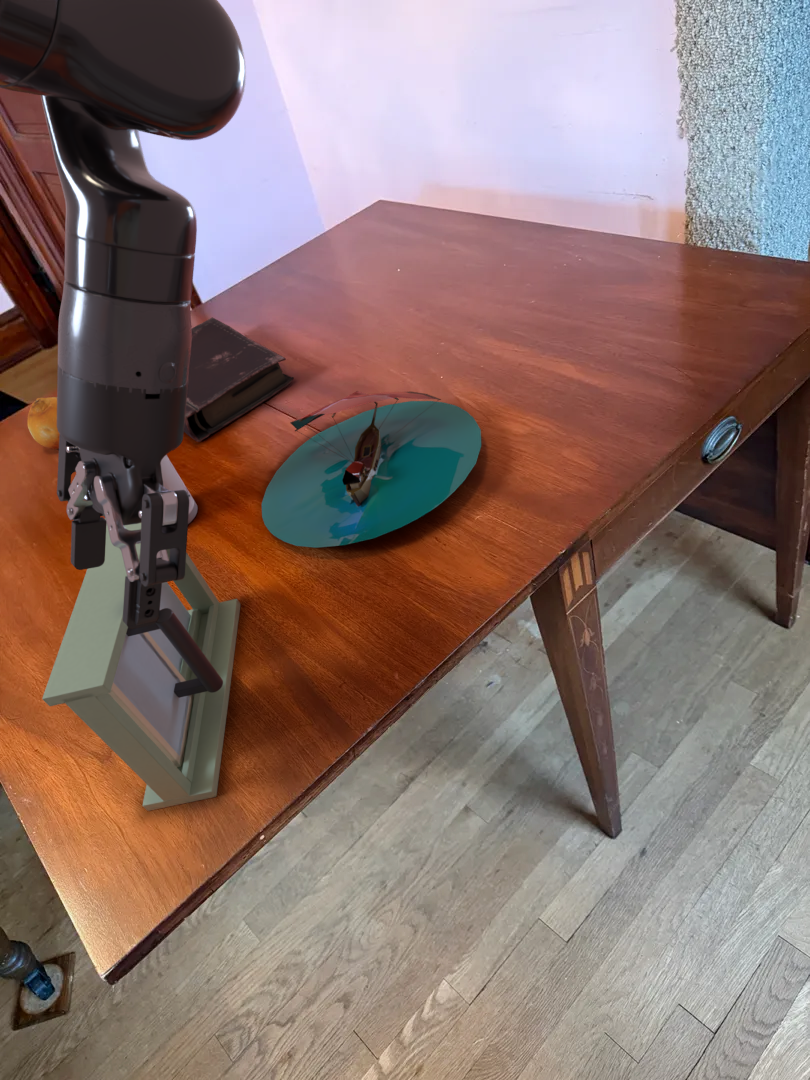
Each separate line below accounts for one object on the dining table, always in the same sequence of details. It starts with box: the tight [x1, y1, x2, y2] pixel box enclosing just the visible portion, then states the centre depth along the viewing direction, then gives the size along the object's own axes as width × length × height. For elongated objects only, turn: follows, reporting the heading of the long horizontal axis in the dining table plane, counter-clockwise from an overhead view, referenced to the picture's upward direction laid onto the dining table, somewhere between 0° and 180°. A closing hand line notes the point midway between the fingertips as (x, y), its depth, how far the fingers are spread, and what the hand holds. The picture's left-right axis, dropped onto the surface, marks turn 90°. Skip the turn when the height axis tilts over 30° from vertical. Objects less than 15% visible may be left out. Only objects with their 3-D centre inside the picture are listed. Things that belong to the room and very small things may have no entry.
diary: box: [184, 317, 294, 443], centre depth 116 cm, size 19×25×5 cm
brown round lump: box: [26, 396, 60, 450], centre depth 116 cm, size 8×8×8 cm
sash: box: [109, 608, 223, 767], centre depth 63 cm, size 5×8×14 cm, turn 4°
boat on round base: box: [261, 390, 482, 549], centre depth 87 cm, size 28×28×11 cm
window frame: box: [41, 518, 241, 812], centre depth 67 cm, size 6×22×17 cm, turn 4°
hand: (113, 594), depth 52 cm, fingers open, 8 cm apart
